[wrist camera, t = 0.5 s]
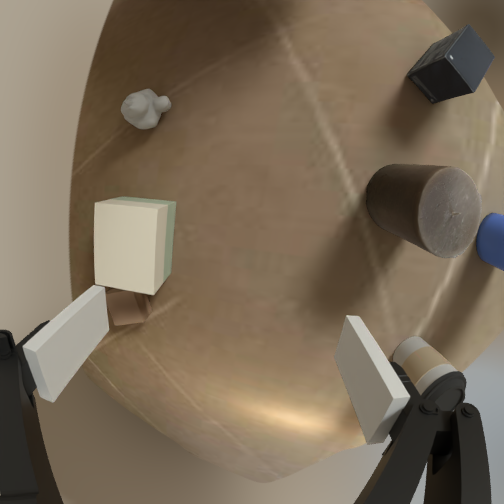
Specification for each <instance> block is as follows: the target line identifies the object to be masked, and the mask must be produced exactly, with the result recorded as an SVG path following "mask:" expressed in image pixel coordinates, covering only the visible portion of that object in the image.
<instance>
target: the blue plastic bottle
mask: <svg viewBox="0 0 504 504" xmlns="http://www.w3.org/2000/svg"><path fill="white" fill-rule="evenodd" d="M476 247H477V252H478V255H479V257H480V258H481V259H482V260H483V261H485V262H487V263H489V264H491V265H493V266H495V267H497V268H499V269H501V270H503V271H504V215H501V214H497V213H491V214H489V215H487V216H486V217H485V218H484V219H483V221H482V222H481V224H480V226H479V229H478V233H477V239H476Z"/></svg>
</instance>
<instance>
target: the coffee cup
mask: <svg viewBox="0 0 504 504" xmlns="http://www.w3.org/2000/svg"><path fill="white" fill-rule="evenodd" d="M393 362H396V363H397V364H398V365H400V366H401V367H402V368H403V369H404V371H405V372H406V374H407V376H408V377H409V378H410V380H411V382H412V383H413V384H414V386H415V387H416V389H417V390H418V392H419V394H420V395H421V397H422V398H423V399H427V400H431V401H433V402H435V403H436V404H437V405H438V406H439V407H440V409H441V410H442V411H453V410H455V408H456V407H457V405H458V404H460V403H463V401H464V399H465V388H466V379H465V377H464V375H463V373H461V372H459V371H457V370H456V369H455V367H454V366H453V365H452V364H451V363H450V362H449V361H448V360H447V359H445V358H444V357H443V356H442V355H441V354H440V353H439V352H438V351H437V350H435V349H434V348H433V347H431V346H430V345H429V344H428V343H426V342H425V341H424V340H423V339H422V338H421V337H418V336H413V337H410V338H408V339H406V340H404V341H403V342H402V343H401V344H400V345H399V346H398V347H397V349H396V350H395V352H394V355H393Z"/></svg>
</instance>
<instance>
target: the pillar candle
mask: <svg viewBox="0 0 504 504" xmlns="http://www.w3.org/2000/svg"><path fill="white" fill-rule="evenodd" d="M366 192H367V200H366V204H367V208H368V211H369V214H370V216H371V218H372V219H373V220H374V222H375V223H376V224H377V225H378V226H380V227H381V228H383V229H385V230H387V231H389V232H391V233H393V234H395V235H397V236H399V237H401V238H403V239H405V240H407V241H409V242H410V243H413V244H415V245H416V246H418V247H420V248H422V249H424V250H426V251H428V252H430V253H432V254H434V255H435V256H438V257H442V258H452V257H453V258H456V257H457V256H458V255H461V254H462V253H464V251H465V250H466V249H467V247H468V246H469V245H470V244H471V243H472V242H473V239H474V237H475V236H476V234H477V231H478V227H479V224H480V218H481V202H482V201H481V195H480V193H479V192H478V189H477V187H476V184H475V183H474V181H473V180H472V178H471V177H470V176H469V175H468V174H467V173H466V172H465V171H463V170H462V169H460V168H456V167H448V166H434V165H417V164H413V165H409V164H392V165H388V166H385V167H383V168H381V169H379V171H377V172H376V173H375V174H374V176H373V177H372V179H371V180H370V182H369V184H368V187H367V191H366Z"/></svg>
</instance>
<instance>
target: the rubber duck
mask: <svg viewBox="0 0 504 504" xmlns="http://www.w3.org/2000/svg"><path fill="white" fill-rule="evenodd" d="M170 108H171V102H170V101H169V99H168V97H167V96H161V97H158V96H157V95H156V94H155V93H154V92H153V91H152V90H151V89H145V90H141V91H139V92H137V93H132V94H130V95H128V96H127V98H126V99H125V100H124V101H123V104H122V106H121V112H122V114H123V115H124V118H125V119H126V120H127V121H128V122H129V123H131V124H132V125H134V126H135V127H137V128H139V129H149V128H153V127H155V126H156V125H157V124H158V120H159V119H160V117H161V113H162V112H166V111H168V110H169V109H170Z"/></svg>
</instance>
